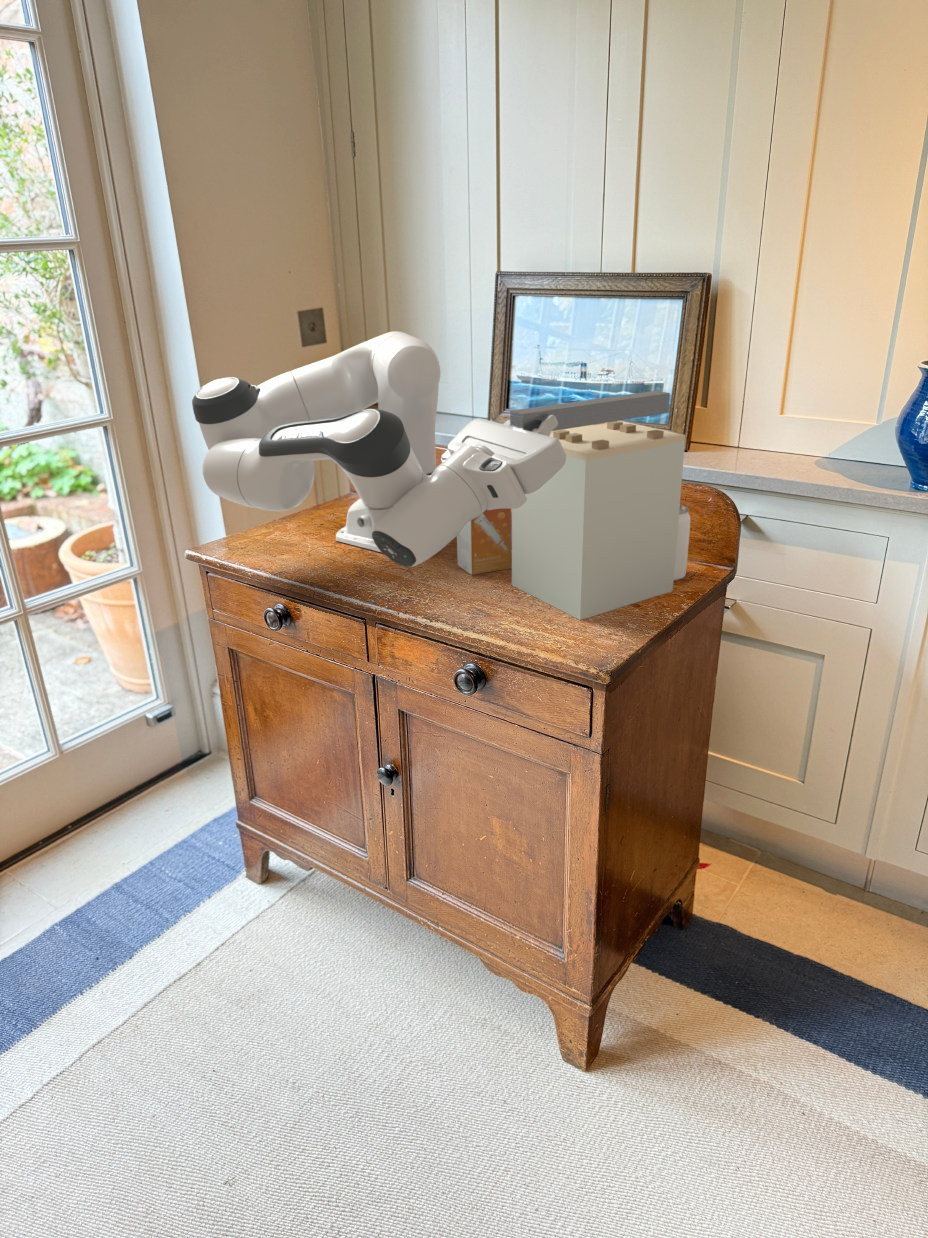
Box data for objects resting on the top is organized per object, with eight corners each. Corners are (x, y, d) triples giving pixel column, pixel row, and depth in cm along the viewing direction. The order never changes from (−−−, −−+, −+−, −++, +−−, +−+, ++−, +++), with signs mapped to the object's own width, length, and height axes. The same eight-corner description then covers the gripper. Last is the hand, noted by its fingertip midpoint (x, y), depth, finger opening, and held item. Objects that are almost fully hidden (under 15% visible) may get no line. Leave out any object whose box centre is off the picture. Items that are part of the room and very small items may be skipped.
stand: (580, 620, 131) (586, 446, 120) (511, 585, 145) (511, 427, 134) (672, 591, 141) (686, 428, 130) (600, 560, 155) (607, 411, 144)
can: (688, 571, 149) (694, 505, 144) (681, 583, 144) (687, 516, 139) (652, 566, 151) (656, 501, 146) (643, 579, 146) (648, 512, 141)
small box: (471, 576, 149) (470, 505, 144) (457, 565, 154) (454, 496, 149) (512, 568, 152) (512, 498, 147) (496, 558, 157) (495, 489, 152)
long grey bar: (522, 435, 117) (523, 413, 116) (510, 432, 119) (510, 410, 118) (668, 412, 131) (670, 392, 129) (654, 409, 133) (655, 390, 132)
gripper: (444, 479, 126) (509, 422, 129) (527, 511, 111) (598, 445, 114) (425, 445, 123) (492, 388, 126) (507, 474, 107) (582, 407, 110)
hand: (543, 415), depth 120 cm, fingers closed on long grey bar, 3 cm apart
